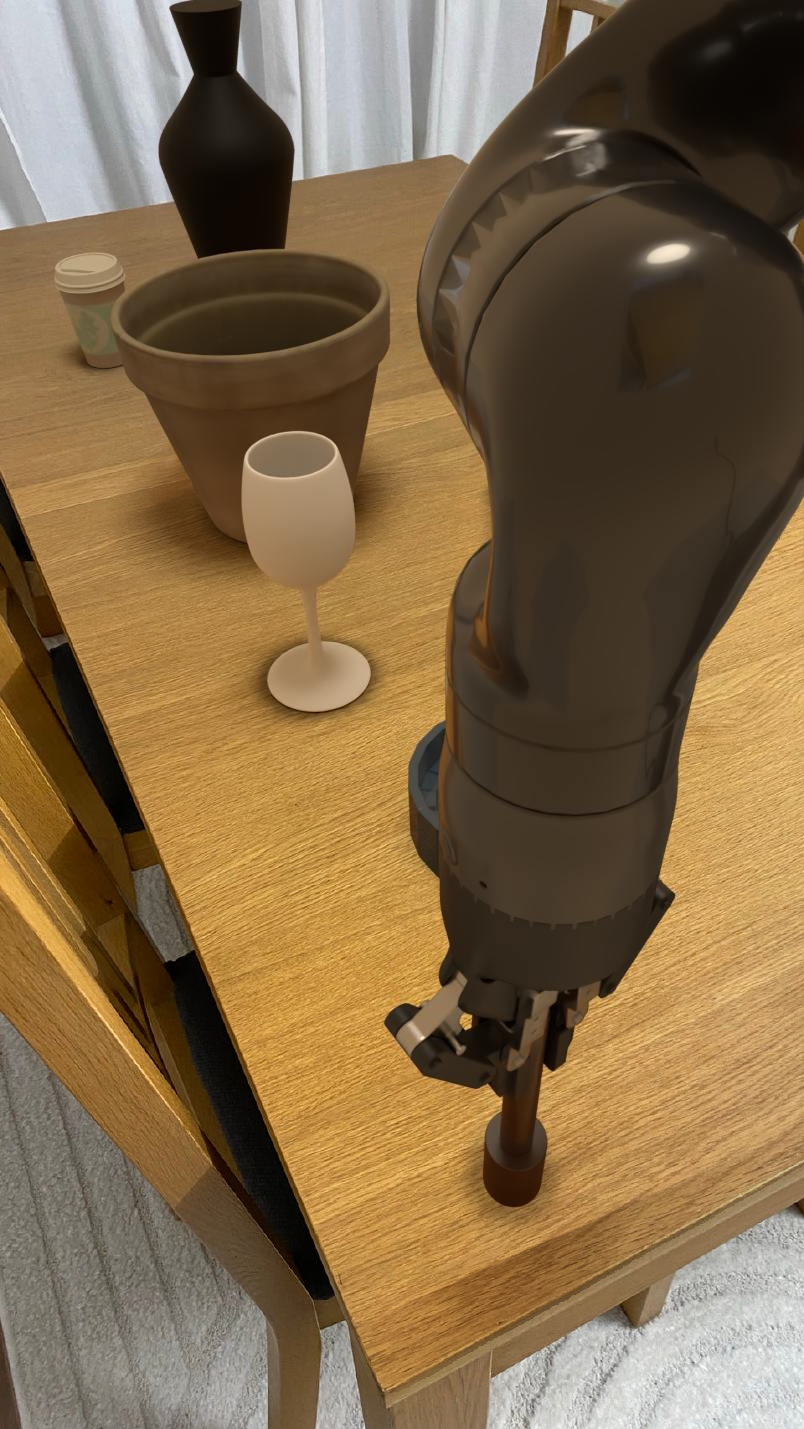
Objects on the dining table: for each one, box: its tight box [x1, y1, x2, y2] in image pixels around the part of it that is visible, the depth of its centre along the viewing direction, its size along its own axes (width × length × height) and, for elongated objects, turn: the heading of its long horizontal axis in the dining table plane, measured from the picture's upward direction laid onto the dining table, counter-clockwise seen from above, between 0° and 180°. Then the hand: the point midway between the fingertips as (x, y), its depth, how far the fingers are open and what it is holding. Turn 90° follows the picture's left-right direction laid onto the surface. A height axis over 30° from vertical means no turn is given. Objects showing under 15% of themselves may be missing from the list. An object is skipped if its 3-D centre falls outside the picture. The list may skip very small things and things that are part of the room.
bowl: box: [407, 719, 445, 879], centre depth 69 cm, size 13×13×6 cm
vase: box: [157, 0, 296, 259], centre depth 127 cm, size 17×17×35 cm
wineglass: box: [242, 431, 372, 713], centre depth 76 cm, size 9×9×21 cm
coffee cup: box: [53, 252, 126, 369], centre depth 125 cm, size 8×9×12 cm
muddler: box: [482, 1008, 550, 1208], centre depth 48 cm, size 3×3×18 cm
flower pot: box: [110, 248, 391, 544], centre depth 95 cm, size 25×25×22 cm
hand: (524, 1065), depth 45 cm, fingers closed on muddler
